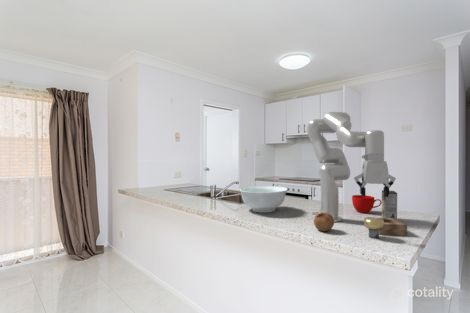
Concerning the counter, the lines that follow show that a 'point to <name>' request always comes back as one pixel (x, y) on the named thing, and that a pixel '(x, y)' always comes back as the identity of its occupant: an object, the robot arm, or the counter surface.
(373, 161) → the robot arm
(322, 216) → the onion
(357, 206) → the ceramic cup
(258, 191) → the bowl
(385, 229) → the block
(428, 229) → the counter surface
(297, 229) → the counter surface
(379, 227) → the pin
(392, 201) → the coffee box
